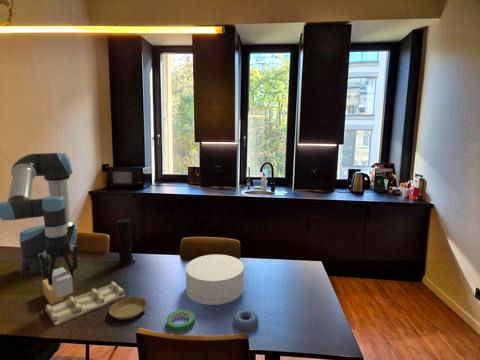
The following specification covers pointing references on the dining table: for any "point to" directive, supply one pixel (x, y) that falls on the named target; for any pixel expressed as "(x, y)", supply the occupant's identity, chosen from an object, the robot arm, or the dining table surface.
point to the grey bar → (62, 282)
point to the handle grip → (124, 243)
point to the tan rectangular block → (50, 293)
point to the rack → (84, 303)
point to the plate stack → (214, 279)
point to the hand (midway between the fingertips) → (61, 288)
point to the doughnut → (245, 320)
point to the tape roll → (180, 327)
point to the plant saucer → (128, 308)
